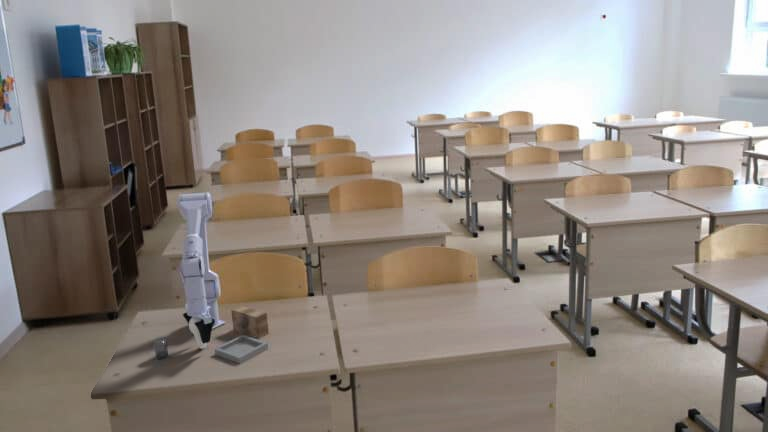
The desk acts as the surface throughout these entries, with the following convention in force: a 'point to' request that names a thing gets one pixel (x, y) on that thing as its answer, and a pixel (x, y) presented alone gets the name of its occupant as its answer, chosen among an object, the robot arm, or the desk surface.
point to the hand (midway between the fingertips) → (201, 338)
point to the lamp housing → (250, 321)
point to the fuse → (161, 349)
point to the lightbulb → (196, 332)
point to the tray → (241, 349)
